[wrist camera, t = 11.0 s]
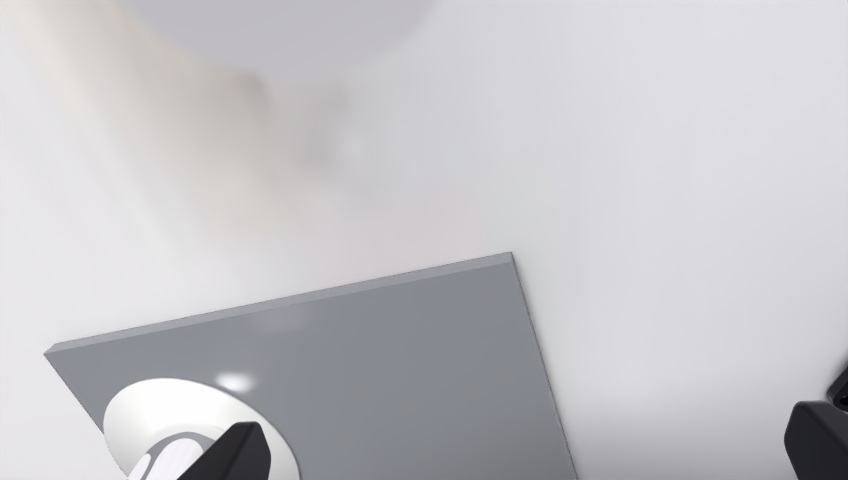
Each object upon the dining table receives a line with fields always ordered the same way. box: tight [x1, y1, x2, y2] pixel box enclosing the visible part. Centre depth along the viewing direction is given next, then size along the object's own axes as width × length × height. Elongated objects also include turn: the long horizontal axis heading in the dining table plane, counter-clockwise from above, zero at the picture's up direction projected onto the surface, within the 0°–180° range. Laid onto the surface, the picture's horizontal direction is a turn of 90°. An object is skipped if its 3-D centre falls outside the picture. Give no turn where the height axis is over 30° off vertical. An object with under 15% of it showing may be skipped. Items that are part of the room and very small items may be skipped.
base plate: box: [43, 252, 577, 480], centre depth 27 cm, size 24×16×1 cm, turn 109°
